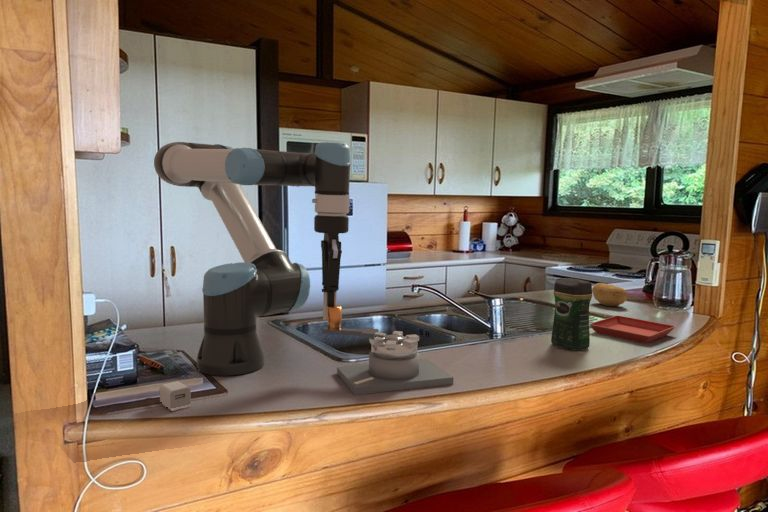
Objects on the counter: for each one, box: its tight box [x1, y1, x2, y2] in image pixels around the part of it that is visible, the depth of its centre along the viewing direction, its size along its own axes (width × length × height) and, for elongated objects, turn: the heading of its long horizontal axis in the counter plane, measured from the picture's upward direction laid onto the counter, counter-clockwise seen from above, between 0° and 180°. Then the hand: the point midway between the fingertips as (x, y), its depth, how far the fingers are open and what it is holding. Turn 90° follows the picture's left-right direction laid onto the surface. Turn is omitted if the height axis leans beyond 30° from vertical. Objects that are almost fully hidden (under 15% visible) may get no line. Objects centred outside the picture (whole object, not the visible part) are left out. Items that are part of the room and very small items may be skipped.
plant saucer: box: [589, 315, 676, 344], centre depth 166 cm, size 18×18×3 cm
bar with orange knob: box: [322, 304, 420, 360], centre depth 122 cm, size 21×11×10 cm, turn 79°
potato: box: [592, 282, 629, 307], centre depth 208 cm, size 10×14×8 cm
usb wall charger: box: [158, 381, 192, 409], centre depth 106 cm, size 4×7×4 cm, turn 44°
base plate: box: [336, 351, 454, 396], centre depth 122 cm, size 22×14×6 cm, turn 109°
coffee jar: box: [550, 277, 593, 351], centre depth 150 cm, size 10×8×19 cm
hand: (329, 319), depth 125 cm, fingers closed
